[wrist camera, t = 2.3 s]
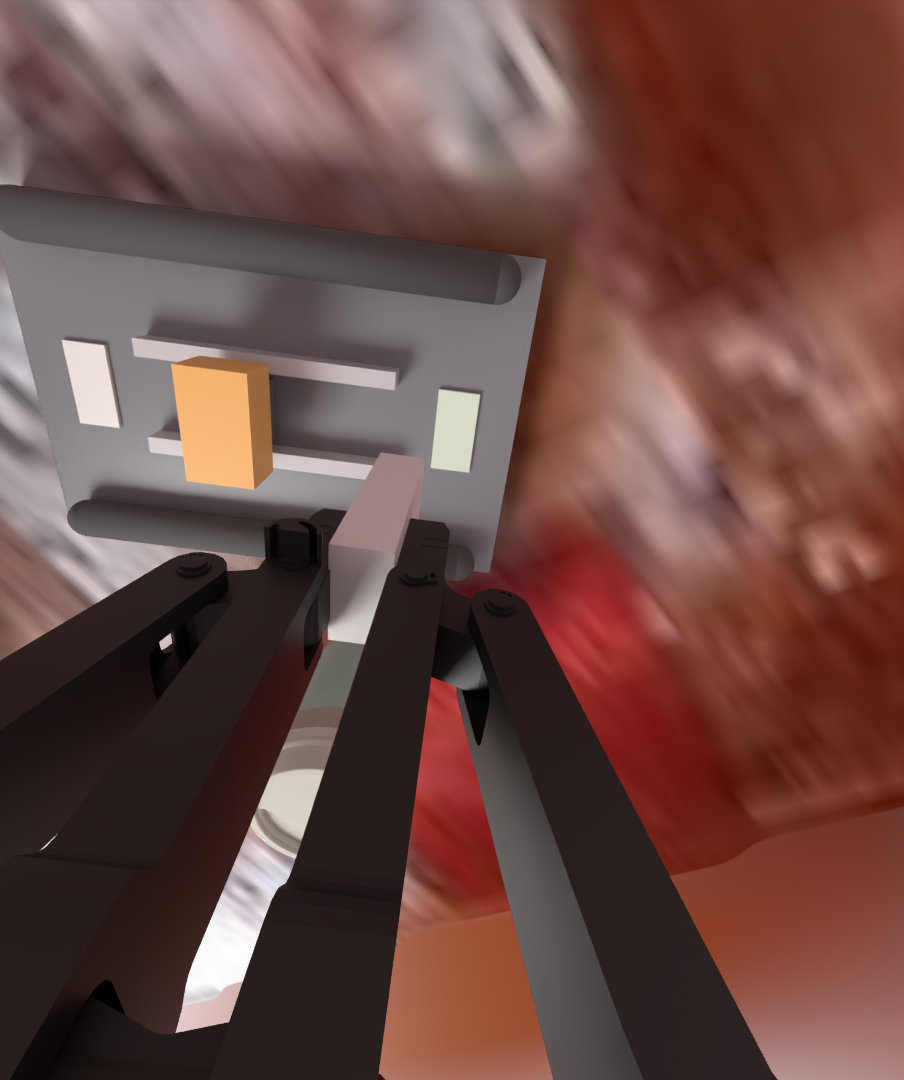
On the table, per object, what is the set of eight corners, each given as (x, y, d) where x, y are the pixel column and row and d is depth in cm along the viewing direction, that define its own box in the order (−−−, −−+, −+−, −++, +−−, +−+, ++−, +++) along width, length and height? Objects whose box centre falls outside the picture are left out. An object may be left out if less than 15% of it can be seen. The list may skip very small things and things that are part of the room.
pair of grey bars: (88, 523, 29) (63, 540, 27) (7, 185, 21) (-36, 177, 20) (472, 571, 29) (472, 590, 28) (523, 256, 22) (527, 254, 20)
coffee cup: (288, 616, 34) (203, 773, 23) (411, 595, 33) (381, 749, 22) (330, 708, 38) (274, 879, 27) (442, 692, 36) (429, 864, 26)
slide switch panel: (94, 507, 31) (55, 531, 28) (20, 189, 23) (-43, 177, 20) (488, 556, 31) (490, 584, 28) (541, 260, 24) (550, 258, 21)
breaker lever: (229, 450, 26) (186, 481, 22) (220, 349, 24) (171, 363, 20) (286, 458, 26) (254, 489, 23) (283, 357, 24) (246, 373, 20)
